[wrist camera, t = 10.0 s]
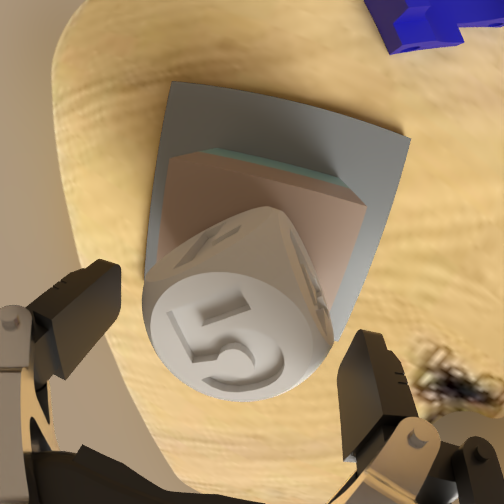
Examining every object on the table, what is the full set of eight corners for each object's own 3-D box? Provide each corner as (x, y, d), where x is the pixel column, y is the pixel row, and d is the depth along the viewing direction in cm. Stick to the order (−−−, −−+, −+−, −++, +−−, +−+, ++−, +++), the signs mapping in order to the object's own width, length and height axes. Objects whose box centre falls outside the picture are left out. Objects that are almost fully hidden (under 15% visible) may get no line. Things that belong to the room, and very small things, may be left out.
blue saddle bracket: (388, 55, 16) (420, 31, 11) (363, 1, 15) (383, -36, 9) (506, 44, 13) (549, 32, 8) (484, -4, 12) (521, -25, 6)
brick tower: (405, 138, 18) (474, 146, 10) (336, 334, 24) (348, 419, 16) (177, 82, 19) (106, 59, 10) (148, 285, 25) (92, 351, 16)
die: (279, 193, 12) (270, 234, 7) (328, 299, 13) (341, 380, 8) (173, 244, 13) (116, 303, 8) (228, 334, 14) (202, 414, 10)
